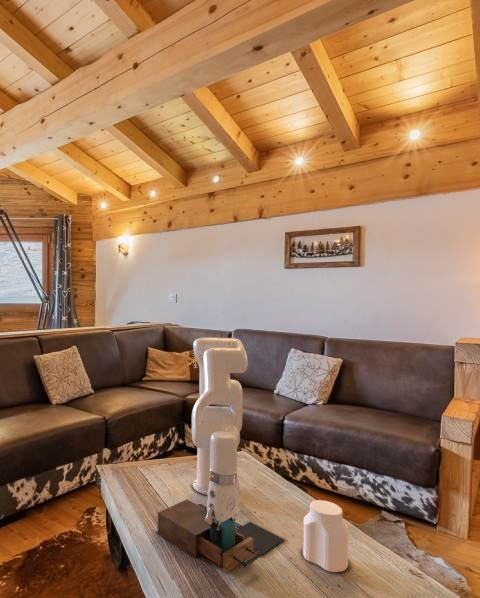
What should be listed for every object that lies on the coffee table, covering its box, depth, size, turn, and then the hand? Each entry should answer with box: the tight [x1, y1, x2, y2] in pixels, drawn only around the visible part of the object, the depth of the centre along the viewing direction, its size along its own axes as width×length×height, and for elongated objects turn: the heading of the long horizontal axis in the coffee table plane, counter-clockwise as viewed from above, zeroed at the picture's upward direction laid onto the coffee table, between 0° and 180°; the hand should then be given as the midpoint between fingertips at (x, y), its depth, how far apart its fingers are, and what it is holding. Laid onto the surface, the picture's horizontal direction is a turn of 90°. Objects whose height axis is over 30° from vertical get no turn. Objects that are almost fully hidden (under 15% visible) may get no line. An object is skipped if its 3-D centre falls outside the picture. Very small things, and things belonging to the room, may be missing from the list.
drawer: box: [198, 530, 262, 573], centre depth 122 cm, size 19×12×5 cm, turn 38°
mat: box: [235, 521, 285, 557], centre depth 131 cm, size 12×12×1 cm
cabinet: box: [157, 498, 210, 559], centre depth 132 cm, size 16×14×7 cm
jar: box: [302, 499, 350, 573], centre depth 121 cm, size 12×10×15 cm
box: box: [210, 519, 236, 556], centre depth 122 cm, size 5×5×8 cm
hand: (222, 537), depth 122 cm, fingers closed on box, 5 cm apart
